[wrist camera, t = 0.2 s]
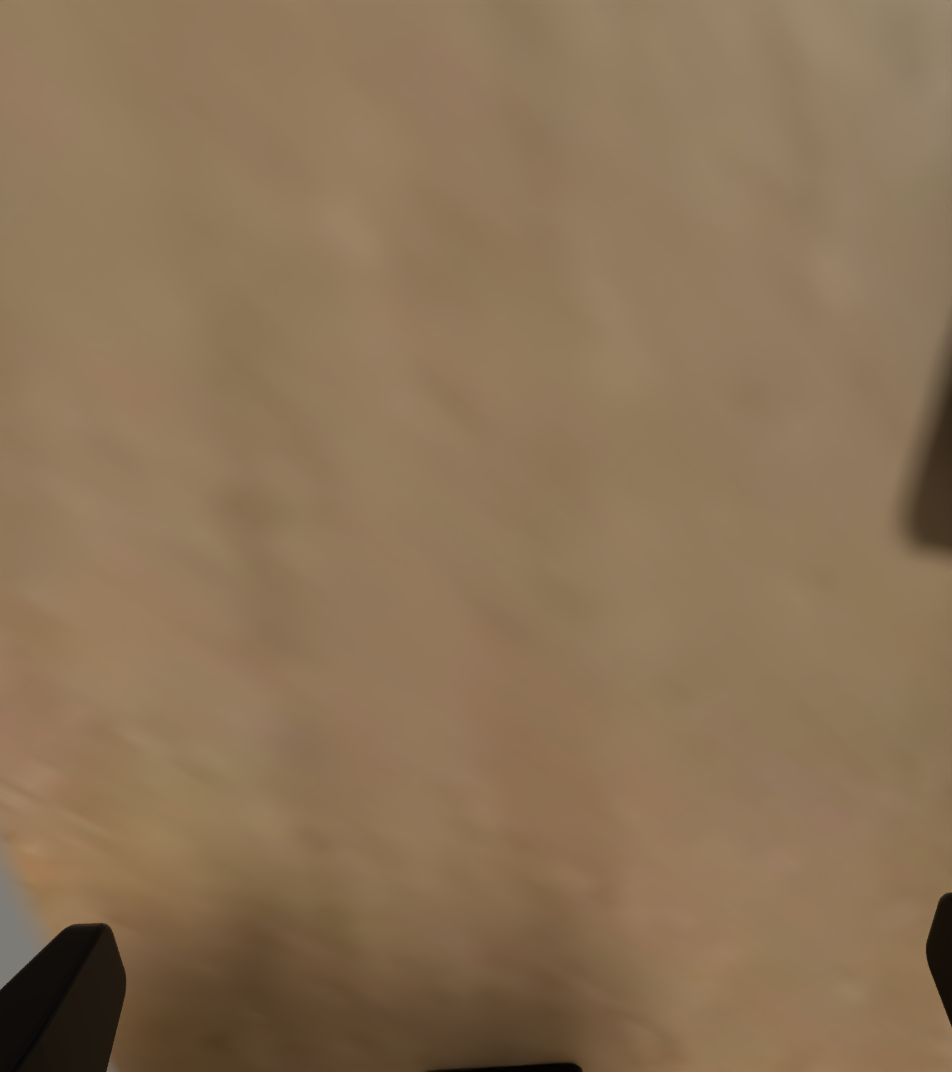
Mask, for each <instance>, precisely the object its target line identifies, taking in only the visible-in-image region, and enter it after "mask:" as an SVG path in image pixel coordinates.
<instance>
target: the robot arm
mask: <svg viewBox="0 0 952 1072" xmlns="http://www.w3.org/2000/svg"><path fill="white" fill-rule="evenodd" d="M926 956H927V961H928V965H929V968H930V971H931V974H932V976H933V979H934V982H935V984H936V987H937V990H938V992H939V995H940V997H941V1000H942V1003H943V1005H944V1008H945V1010H946V1013H947V1016H948V1018H949V1021H950V1024H951V1026H952V892H951V893H946V894H944V895H943V896H942V897H941V898H940V900H939V902H938V905H937V909H936V912H935V915H934V919H933V922H932V925H931V929H930V932H929V935H928V939H927V943H926ZM125 991H126V974H125V969H124V966H123V963H122V960H121V957H120V953H119V950H118V947H117V944H116V941H115V938H114V934H113V932H112V930H111V928H110V927H109V926H108V925H107V924H104V923H92V924H74V925H71V926H68V927H67V928H65V929H64V930H62V931H61V932H60V933H59V934H58V935H57V936H56V937H55V938H54V939H53V940H52V941H51V942H50V943H49V944H48V945H46V946H45V947H44V948H43V949H42V950H41V951H40V952H39V953H38V954H37V955H36V956H35V957H34V958H33V959H32V960H31V961H30V962H29V963H28V964H27V965H26V966H25V967H24V968H23V969H22V970H20V971H19V972H18V973H17V974H16V975H15V976H14V977H13V978H12V979H11V980H10V981H9V982H8V983H7V984H6V985H5V986H4V987H3V988H2V989H1V990H0V1072H106V1071H107V1067H108V1063H109V1058H110V1054H111V1050H112V1046H113V1042H114V1038H115V1034H116V1030H117V1026H118V1022H119V1018H120V1014H121V1010H122V1006H123V1001H124V997H125ZM457 1072H582V1069H581V1068H580V1067H579V1066H577V1065H574V1064H566V1065H550V1066H535V1067H519V1068H504V1069H488V1070H472V1071H457Z"/></svg>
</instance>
